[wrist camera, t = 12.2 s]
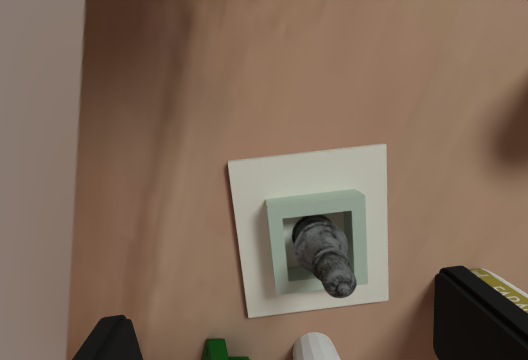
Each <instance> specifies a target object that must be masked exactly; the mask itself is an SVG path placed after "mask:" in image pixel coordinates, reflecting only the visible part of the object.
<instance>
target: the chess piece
mask: <svg viewBox="0 0 528 360" xmlns="http://www.w3.org/2000/svg"><path fill="white" fill-rule="evenodd" d="M292 241H293V243H294V255H295V258H296V260H297V262H298V263H299V264H300V265H301V266H302V267H303V268H305V269H306V270H308V271H311V272H313V274H314V276H315V277H316V278H317V279H318V280H320V281H321V282H322V285H323V287H324V289H325V291H326V292H327V293H328V294H329V295H330V296H332V297H335V298H345V297H348V296H349V295H351V294H352V293H353V292H354V290H355V288H356V285H357V282H356V277H355V275H354V273H353V272H352V270H351V269H350V267H349V266H350V263H349V259H348V257H347V255H346V254H347V249H348V243H347V238H346V236H345V234H344V233H343V231H342V230H341V229H340V228H339V227H337V226H336V225H334V224H333V223H332V222H331V221H330V219H328V218H327V217H325V216H323V215H320V214H318V215H309V216H304V217H302V218H301V219H300V220H298V222H297V223H296V224H295V226H294V228H293V230H292Z"/></svg>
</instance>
